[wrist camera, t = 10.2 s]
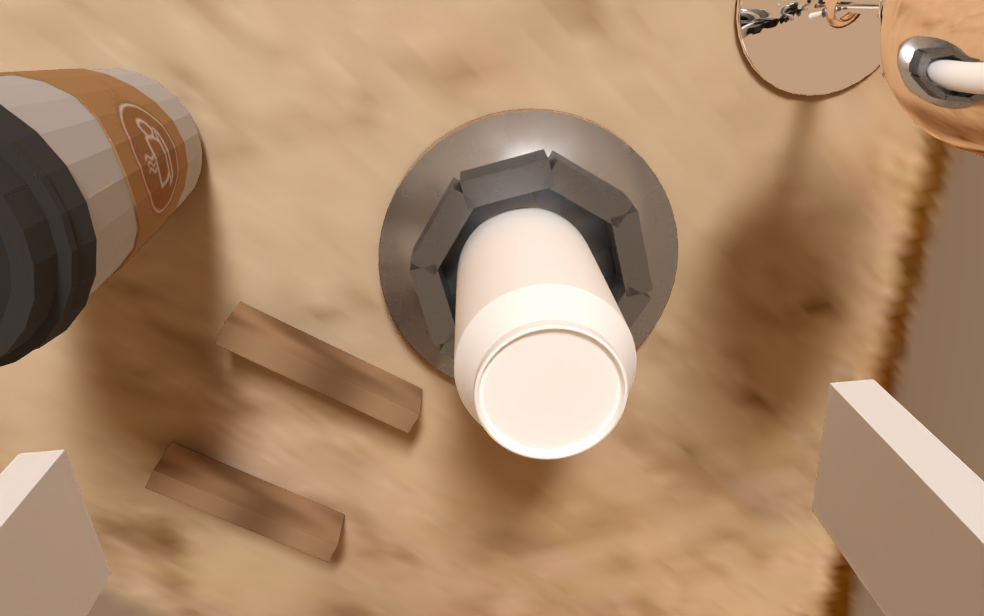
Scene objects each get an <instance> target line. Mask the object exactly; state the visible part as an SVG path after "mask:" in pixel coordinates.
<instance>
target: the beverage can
mask: <svg viewBox="0 0 984 616" xmlns="http://www.w3.org/2000/svg"><path fill="white" fill-rule="evenodd" d="M636 364H637V358H636V349H635V344H634V340H633V337H632V334H631V332H630V330H629V328H628V326H627V324H626V322H625V319H624V317H623V315H622V313H621V311H620V309H619V307H618V305H617V303H616V301H615V299H614V297H613V295H612V293H611V291H610V289H609V287H608V285H607V283H606V281H605V279H604V277H603V275H602V273H601V271H600V269H599V266H598V264H597V262H596V260H595V258H594V256H593V254H592V252H591V250H590V249H589V247H588V245H587V243H586V241H585V240H584V238H583V236H582V235H581V234H580V232H579V231H578V230H577V229H576V228H575V227H574V226H573V225H572V224H571V223H570V222H568V221H567V220H566V219H564V218H563V217H561V216H559V215H558V214H555V213H553V212H551V211H548V210H544V209H540V208H533V207H520V208H513V209H509V210H505V211H502V212H500V213H497V214H495V215H493V216H492V217H490V218H488V219H487V220H485V221H484V222H483V223H481V224H480V225H479V226H478V227H477V228H476V229H475V230H474V231H473V233H472V234H471V235H470V237H469V238H468V240H467V241H466V243H465V245H464V247H463V249H462V252H461V255H460V258H459V263H458V270H457V288H456V315H455V346H454V377H455V383H456V387H457V391H458V394H459V396H460V398H461V401H462V402H463V404H464V406H465V408H466V409H467V411H468V412H469V413H470V415H471V416H472V417H473V418H474V419H475V420H476V421H477V422H478V423H479V424H480V425H481V426H483V428H484V429H485V430H486V432H487V433H488V434H489V435H490V437H491V438H492V439H493V440H495V441H496V442H497V443H498V444H499V445H501V446H502V447H504V448H505V449H507V450H509V451H511V452H513V453H515V454H518V455H521V456H524V457H528V458H533V459H543V460H551V459H561V458H566V457H570V456H574V455H577V454H579V453H582V452H584V451H586V450H588V449H590V448H592V447H593V446H595V445H596V444H598V443H599V442H600V441H602V440H603V439H604V438H605V437H606V436H607V435H608V434H609V433H610V432H611V431H612V430H613V429H614V427H615V426H616V425H617V423H618V421H619V420H620V418H621V416H622V414H623V411H624V409H625V405H626V401H627V397H628V395H629V393H630V391H631V388H632V385H633V382H634V379H635V374H636Z"/></svg>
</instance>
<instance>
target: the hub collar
mask: <svg viewBox="0 0 984 616" xmlns="http://www.w3.org/2000/svg"><path fill="white" fill-rule="evenodd" d="M520 207H533V208H540V209H544V210H548V211H551V212H553V213H555V214H558V215H559V216H561V217H563V218H564V219H566V220H567V221H568V222H570V223H571V224H572V225H573V226H574V227H575V228H576V229H577V230H578V231H579V232H580V234H581V235H582V236H583V238H584V240H585V241H586V243H587V245H588V247H589V249H590V250H591V252H592V254H593V256H594V258H595V260H596V262H597V264H598V266H599V269H600V271H601V273H602V275H603V277H604V279H605V281H606V283H607V285H608V287H609V289H610V291H611V293H612V295H613V297H614V299H615V301H616V303H617V305H618V307H619V309H620V311H621V313H622V315H623V317H624V319H625V322H626V324H627V326H628V328H629V330H630V332H631V334H632V337H633V340H634V344H635V349H636V348H637V347H639V345H640V344H641V343H642V342H643V341H644V339H645V338H646V337H647V336H648V335H649V333H650V332H651V331H652V329H653V328H654V326H655V324H656V323H657V321H658V320H659V318H660V317H661V315H662V312H663V310H664V308H665V306H666V304H667V302H668V300H669V297H670V294H671V290H672V287H673V284H674V280H675V275H676V269H677V261H678V239H677V229H676V224H675V220H674V215H673V211H672V208H671V205H670V203H669V200H668V198H667V195H666V193H665V191H664V189H663V187H662V185H661V184H660V182H659V180H658V179H657V177H656V175H655V174H654V172H653V171H652V170H651V169H650V167H649V166H648V165H647V164H646V162H645V161H644V160H643V159H642V158H641V157H640V156H639V155H638V154H637V153H636V152H635V151H634V150H633V149H632V148H631V147H630V146H629V145H628V144H627V143H625V142H624V141H623V140H622V139H620V138H619V137H617V136H616V135H615V134H613V133H612V132H610V131H609V130H607V129H605V128H603V127H601V126H600V125H598V124H596V123H594V122H592V121H590V120H587V119H584V118H581V117H578V116H575V115H573V114H568V113H564V112H559V111H554V110H544V109H519V110H508V111H503V112H498V113H494V114H489V115H486V116H484V117H481V118H478V119H475V120H472V121H470V122H468V123H466V124H464V125H462V126H460V127H458V128H456V129H454V130H452V131H450V132H449V133H448V134H446V135H445V136H443V137H442V138H440V139H439V140H437V141H436V142H435V143H434V144H432V145H431V146H430V147H429V148H428V149H427V150H426V151H425V152H424V153H423V154H421V155H420V156H419V158H418V159H417V160H416V161H415V162H414V164H413V165H412V166H411V167H410V168H409V170H408V171H407V172H406V174H405V176H404V177H403V179H402V180H401V182H400V183H399V185H398V187H397V189H396V191H395V193H394V195H393V197H392V200H391V202H390V204H389V207H388V209H387V213H386V216H385V219H384V223H383V226H382V230H381V237H380V243H379V273H380V281H381V286H382V290H383V294H384V297H385V301H386V304H387V306H388V308H389V311H390V313H391V315H392V318H393V320H394V321H395V323H396V325H397V326H398V328H399V330H400V331H401V333H402V335H403V336H404V337H405V338H406V340H407V341H408V342H409V343H410V345H411V346H412V347H413V348H414V349H415V350H416V351H417V352H418V353H419V354H420V355H421V356H422V357H423V358H424V359H425V360H426V361H427V362H429V363H430V364H431V365H433V366H434V367H435V368H437V369H438V370H439V371H441V372H442V373H444V374H446V375H448V376H449V377H451V378H453V379H455V377H454V346H455V315H456V288H457V270H458V263H459V258H460V255H461V252H462V249H463V247H464V245H465V243H466V241H467V240H468V238H469V237H470V235H471V234H472V233H473V231H474V230H475V229H476V228H477V227H478V226H479V225H480V224H481V223H483V222H484V221H485V220H487V219H488V218H490V217H492V216H493V215H495V214H497V213H500V212H502V211H505V210H509V209H513V208H520Z"/></svg>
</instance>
